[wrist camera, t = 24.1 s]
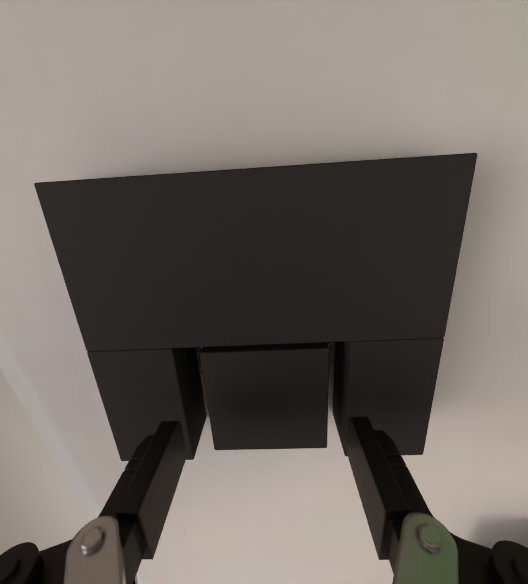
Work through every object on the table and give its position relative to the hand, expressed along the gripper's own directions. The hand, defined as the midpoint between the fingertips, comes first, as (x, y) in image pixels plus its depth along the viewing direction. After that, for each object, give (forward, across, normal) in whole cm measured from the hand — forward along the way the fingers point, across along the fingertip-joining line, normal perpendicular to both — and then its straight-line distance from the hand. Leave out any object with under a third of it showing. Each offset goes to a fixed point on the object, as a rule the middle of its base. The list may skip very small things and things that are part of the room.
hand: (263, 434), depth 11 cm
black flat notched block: (+5, 0, -4) cm, 6 cm away
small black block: (+5, 0, 0) cm, 5 cm away
